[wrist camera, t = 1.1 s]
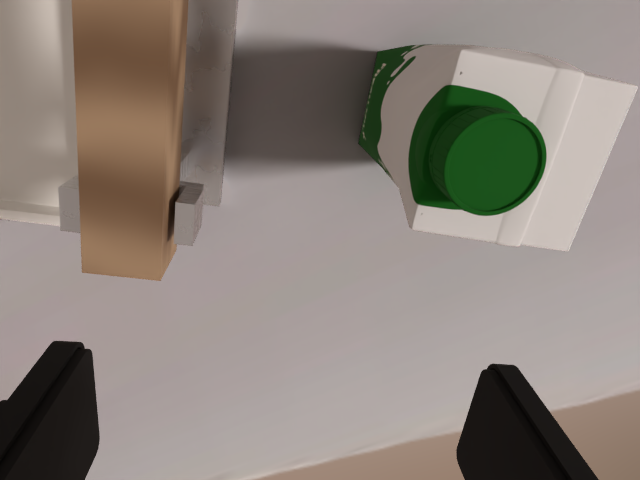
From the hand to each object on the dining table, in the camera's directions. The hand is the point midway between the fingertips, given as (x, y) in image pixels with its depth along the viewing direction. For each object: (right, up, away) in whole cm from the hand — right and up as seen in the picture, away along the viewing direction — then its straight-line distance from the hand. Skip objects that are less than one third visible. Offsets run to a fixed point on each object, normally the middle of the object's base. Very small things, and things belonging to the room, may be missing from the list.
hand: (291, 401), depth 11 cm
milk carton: (+8, +14, +25) cm, 30 cm away
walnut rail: (-8, +14, +13) cm, 20 cm away
